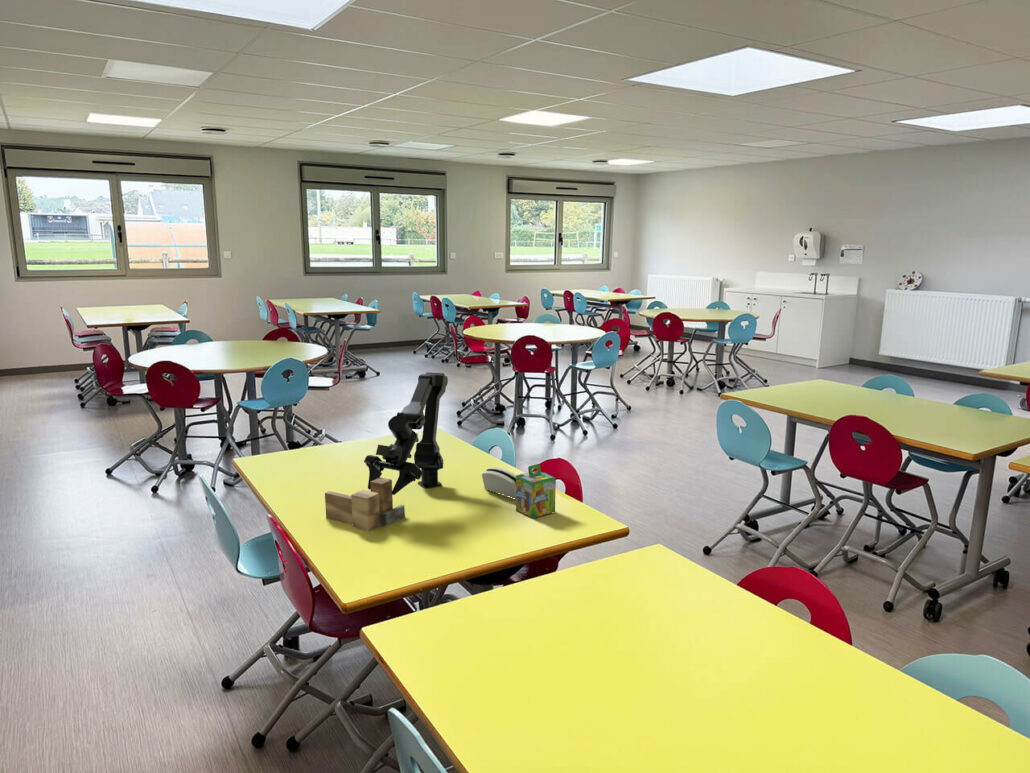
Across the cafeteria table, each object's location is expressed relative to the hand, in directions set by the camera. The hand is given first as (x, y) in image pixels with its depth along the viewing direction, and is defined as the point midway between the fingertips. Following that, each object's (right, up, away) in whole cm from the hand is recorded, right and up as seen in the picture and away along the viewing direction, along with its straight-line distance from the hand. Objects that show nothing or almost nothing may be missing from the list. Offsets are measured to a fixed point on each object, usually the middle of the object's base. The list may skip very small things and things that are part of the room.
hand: (380, 491), depth 209 cm
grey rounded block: (+36, -5, +23) cm, 44 cm away
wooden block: (0, -8, +2) cm, 9 cm away
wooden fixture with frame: (-6, -8, +2) cm, 10 cm away
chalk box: (+46, -8, +8) cm, 48 cm away
